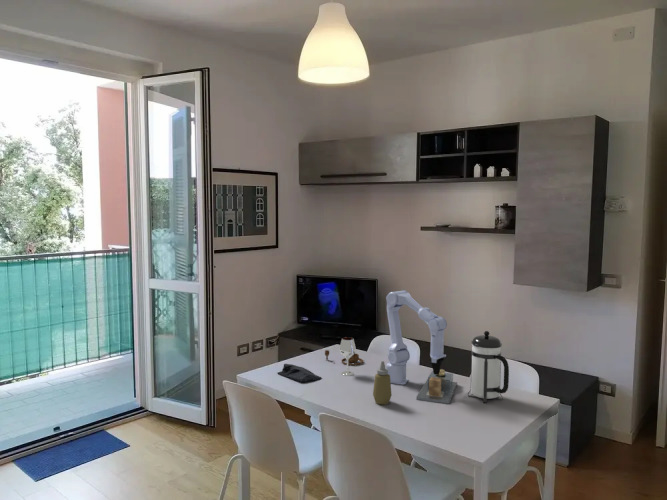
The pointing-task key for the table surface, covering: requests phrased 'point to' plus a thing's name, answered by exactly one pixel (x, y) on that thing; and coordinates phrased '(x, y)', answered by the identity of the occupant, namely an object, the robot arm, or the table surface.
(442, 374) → the pin
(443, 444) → the table surface
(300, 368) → the dark grey cloth
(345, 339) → the wineglass
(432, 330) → the robot arm
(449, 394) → the base
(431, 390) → the oak block
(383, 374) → the squeeze bottle
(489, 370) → the coffee press
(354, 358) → the place setting
